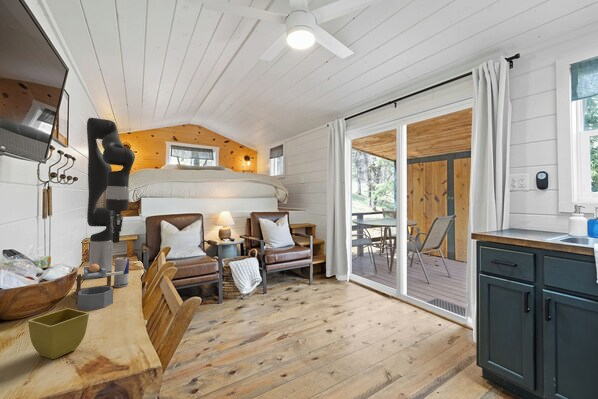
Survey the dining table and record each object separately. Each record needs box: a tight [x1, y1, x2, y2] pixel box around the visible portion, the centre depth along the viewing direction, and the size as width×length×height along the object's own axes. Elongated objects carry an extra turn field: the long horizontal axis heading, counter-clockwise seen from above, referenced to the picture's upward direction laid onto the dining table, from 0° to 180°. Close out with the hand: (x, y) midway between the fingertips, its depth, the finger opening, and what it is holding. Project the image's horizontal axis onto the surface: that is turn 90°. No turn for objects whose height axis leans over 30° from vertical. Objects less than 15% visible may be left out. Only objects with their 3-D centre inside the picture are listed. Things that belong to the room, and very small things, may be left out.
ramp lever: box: [81, 265, 123, 280], centre depth 111 cm, size 14×13×5 cm
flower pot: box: [27, 307, 90, 360], centre depth 69 cm, size 9×9×9 cm
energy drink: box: [113, 256, 130, 288], centre depth 122 cm, size 5×5×12 cm
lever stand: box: [75, 271, 112, 305], centre depth 109 cm, size 17×11×9 cm, turn 39°
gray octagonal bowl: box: [77, 285, 114, 311], centre depth 100 cm, size 10×10×5 cm
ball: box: [88, 264, 99, 273], centre depth 113 cm, size 4×4×4 cm
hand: (115, 242), depth 109 cm, fingers closed
